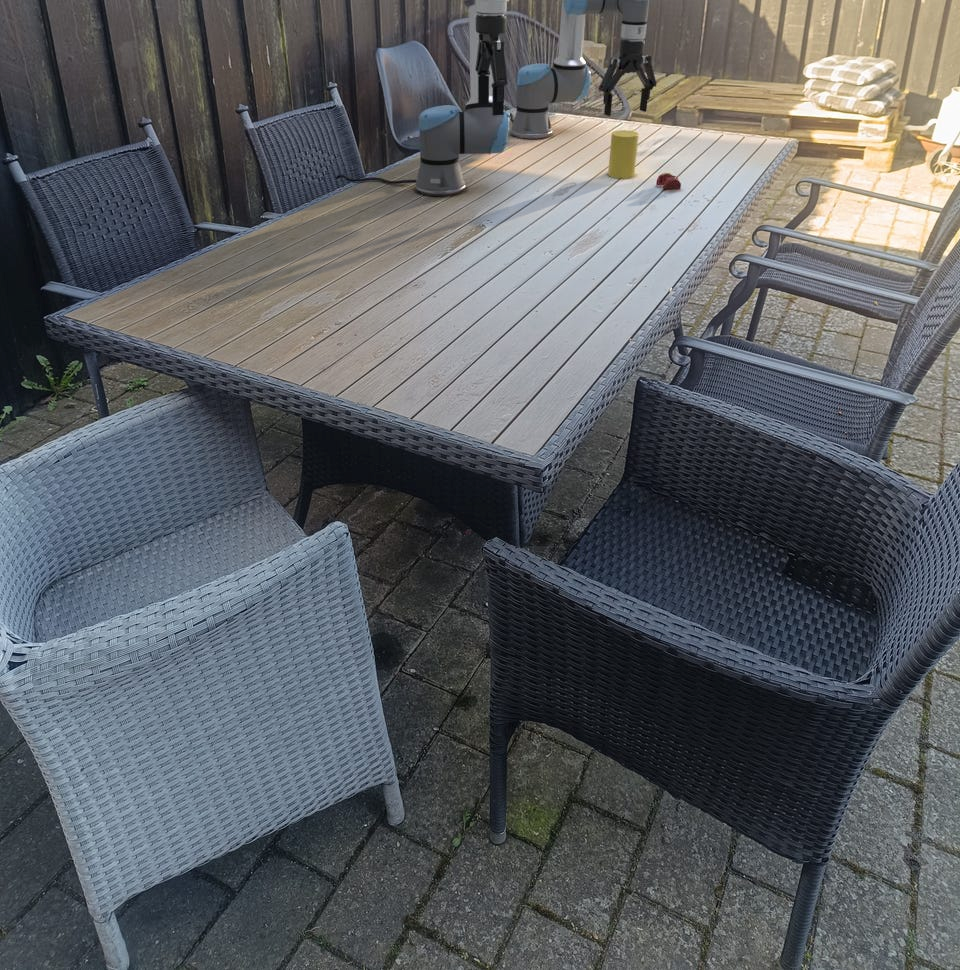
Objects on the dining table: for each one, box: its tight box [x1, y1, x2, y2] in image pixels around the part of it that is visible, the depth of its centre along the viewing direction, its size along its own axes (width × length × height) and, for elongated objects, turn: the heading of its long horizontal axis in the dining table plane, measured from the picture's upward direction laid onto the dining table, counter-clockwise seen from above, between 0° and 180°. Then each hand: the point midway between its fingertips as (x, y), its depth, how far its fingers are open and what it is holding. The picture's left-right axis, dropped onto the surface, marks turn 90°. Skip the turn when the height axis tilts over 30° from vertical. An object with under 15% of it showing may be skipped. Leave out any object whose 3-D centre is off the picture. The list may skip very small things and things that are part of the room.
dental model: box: [655, 172, 682, 192], centre depth 259 cm, size 6×4×8 cm
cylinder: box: [607, 130, 639, 180], centre depth 268 cm, size 8×8×13 cm
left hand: (490, 109), depth 214 cm, fingers open, 13 cm apart
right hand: (625, 113), depth 271 cm, fingers open, 13 cm apart
